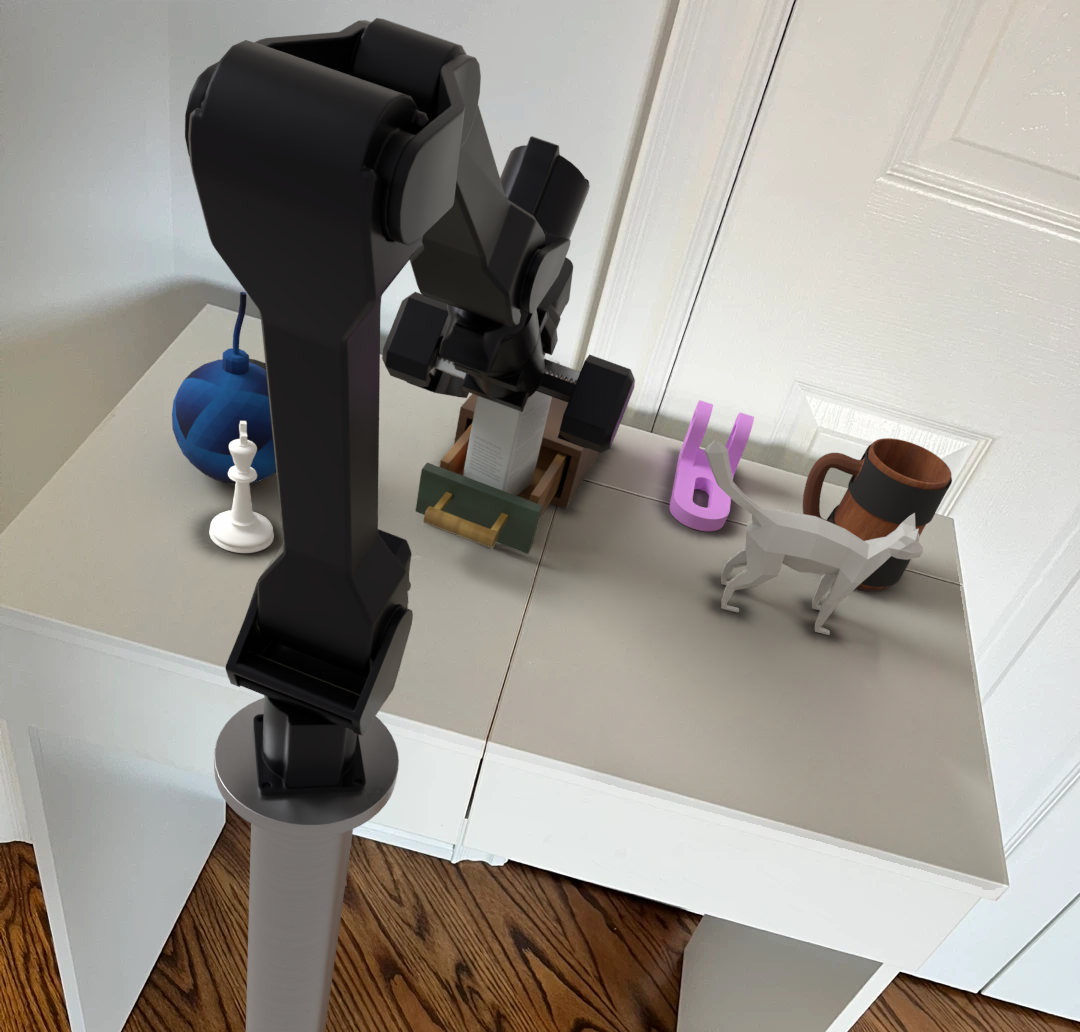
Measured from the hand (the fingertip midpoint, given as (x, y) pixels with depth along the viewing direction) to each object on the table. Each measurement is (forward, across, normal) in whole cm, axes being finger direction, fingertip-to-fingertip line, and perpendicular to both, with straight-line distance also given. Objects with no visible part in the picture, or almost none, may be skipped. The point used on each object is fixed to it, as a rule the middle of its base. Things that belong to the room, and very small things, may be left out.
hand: (517, 410), depth 86 cm
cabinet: (+13, 0, 0) cm, 13 cm away
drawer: (+4, 0, +8) cm, 9 cm away
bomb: (0, +21, +13) cm, 25 cm away
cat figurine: (+6, -26, +7) cm, 27 cm away
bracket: (+16, -17, -3) cm, 24 cm away
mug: (+14, -31, -1) cm, 35 cm away
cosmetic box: (+4, 0, +6) cm, 7 cm away
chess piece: (-6, +16, +19) cm, 25 cm away
